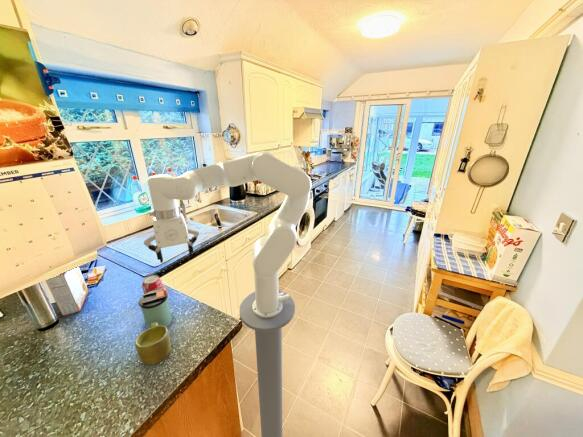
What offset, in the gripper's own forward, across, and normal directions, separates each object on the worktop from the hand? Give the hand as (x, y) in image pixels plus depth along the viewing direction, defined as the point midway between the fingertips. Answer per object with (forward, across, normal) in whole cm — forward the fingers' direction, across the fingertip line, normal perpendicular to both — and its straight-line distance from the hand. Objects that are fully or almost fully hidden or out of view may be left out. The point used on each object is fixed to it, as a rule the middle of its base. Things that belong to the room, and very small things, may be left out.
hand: (176, 257), depth 84 cm
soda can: (+26, -11, +13) cm, 31 cm away
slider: (+14, -7, 0) cm, 16 cm away
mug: (+26, -11, -13) cm, 31 cm away
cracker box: (+26, -41, +28) cm, 56 cm away
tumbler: (+26, -10, 0) cm, 28 cm away
